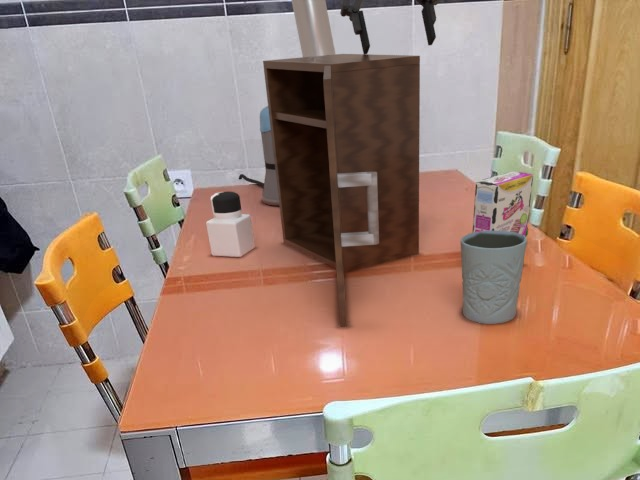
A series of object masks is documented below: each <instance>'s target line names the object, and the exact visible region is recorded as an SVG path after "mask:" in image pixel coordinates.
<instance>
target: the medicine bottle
mask: <svg viewBox="0 0 640 480" xmlns="http://www.w3.org/2000/svg"><path fill="white" fill-rule="evenodd" d="M209 199H210V204H211V210H212V216H213V218H210V219H209V220H206V221H205V226H206V232H207V236H208V242H209V248H210V253H211V256H213V257H228V258H229V257H230V258H242V257H244V255H246V254H248V253H249V252H251V251H252V250H254V249H255V248H256V244H255V237H254V230H253V222H252V216H251V215H250V214H248V213H243V209H242V203H241V196H240V194H239V193H237V192H235V191H230V190H229V191H220V192H219V191H218V192H215V193H214V194H212V195H211V196H210V198H209Z"/></svg>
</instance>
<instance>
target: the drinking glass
mask: <svg viewBox="0 0 640 480" xmlns="http://www.w3.org/2000/svg"><path fill="white" fill-rule="evenodd" d="M527 244H528V238H527V236H526V237H525V236H524V235H522V234H519V233H515V232H509V231H480V232H474V233H473V232H470V233H467V234H465V235H464V236H462V237H461V239H460V259H461V260H460V262H461V278H462V279H461V280H462V281H461V284H462V286H461V287H462V315H463V316H464V317H463V318H466V319H467V320H469V321H471V322H475V323H477V324H482V325H497V324H498V325H499V324H503V323H507V322H510V321H512V320H513V319H514V318H515V317H516V314H517V309H518V308H517V307H518V306H517V305H518V301H519V296H520V295H519V294H520V289H521V285H520V284H521V282H522V275H523V269H524V262H525V256H526V255H525V254H526V249H527Z"/></svg>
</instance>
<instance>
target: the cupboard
mask: <svg viewBox="0 0 640 480" xmlns="http://www.w3.org/2000/svg"><path fill="white" fill-rule="evenodd" d="M262 65H263V73H264V82H265V89H266V91H265V92H266V100H267V106H268V109H269V118H270V127H271V136H272V145H273V153H274V162H275V171H276V180H277V188H278V197H279V206H278V207H279V214H280V222H281V231H282V232H281V233H282V240H283V244H285V245H287V246H289V247H291V248H293V249H295V250H297V251H299V252H301V253H303V254H305V255H307V256H309V257H311V258H313V259H315V260H317V261H319V262H321V263H324V264H326V265H327V266H330V267H331V268H334V269H336V257H335V242H334V228H333V213H332V199H331V184H330V170H329V155H328V141H327V127H326V112H325V98H324V83H323V77H324V67H325V66H331V80H332V95H333V111H334V127H335V143H336V159H337V174H341V173H357V172H377V189H378V222H379V244H376V245H362V246H345V247H342V255H343V270H344V273H349V272H352V271H353V272H354V271H357V270H361V269H364V268H368V267H373V266H377V265H381V264H385V263H388V262H392V261H397V260H401V259H404V258H408V257H412V256H417V255H420V123H421V121H420V118H421V117H420V111H421V110H420V109H421V108H420V107H421V106H420V105H421V104H420V101H421V100H420V99H421V98H420V97H421V95H420V94H421V93H420V92H421V90H420V89H421V88H420V87H421V83H420V82H421V56H420V55H411V54H409V55H408V54H407V55H405V54H403V55H402V54H371V53H370V54H368V53H367V54H364V53H335V55H324V56H312V57H303V56H302V57H290V58H280V59H269V60H262ZM338 191H339V207H340V223H341V233H354V232H368V212H367V186H357V187H340V188H338Z"/></svg>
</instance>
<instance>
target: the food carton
mask: <svg viewBox="0 0 640 480" xmlns="http://www.w3.org/2000/svg"><path fill="white" fill-rule="evenodd" d="M533 181H534V174H532V173H527V172H521V171H508V172H505V173H502V174H497V175H494V176H490V177H487V178H484V179H480V180H476V181H475V190H474V205H473V220H472V233H474V232H480V231H509V232H515V233H519V234H522V235H524V236H525V237H526V238H527V236H526V233H527V226H528V225H529V224H528V222H529V215H530V208H531V198H532V188H533Z"/></svg>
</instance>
